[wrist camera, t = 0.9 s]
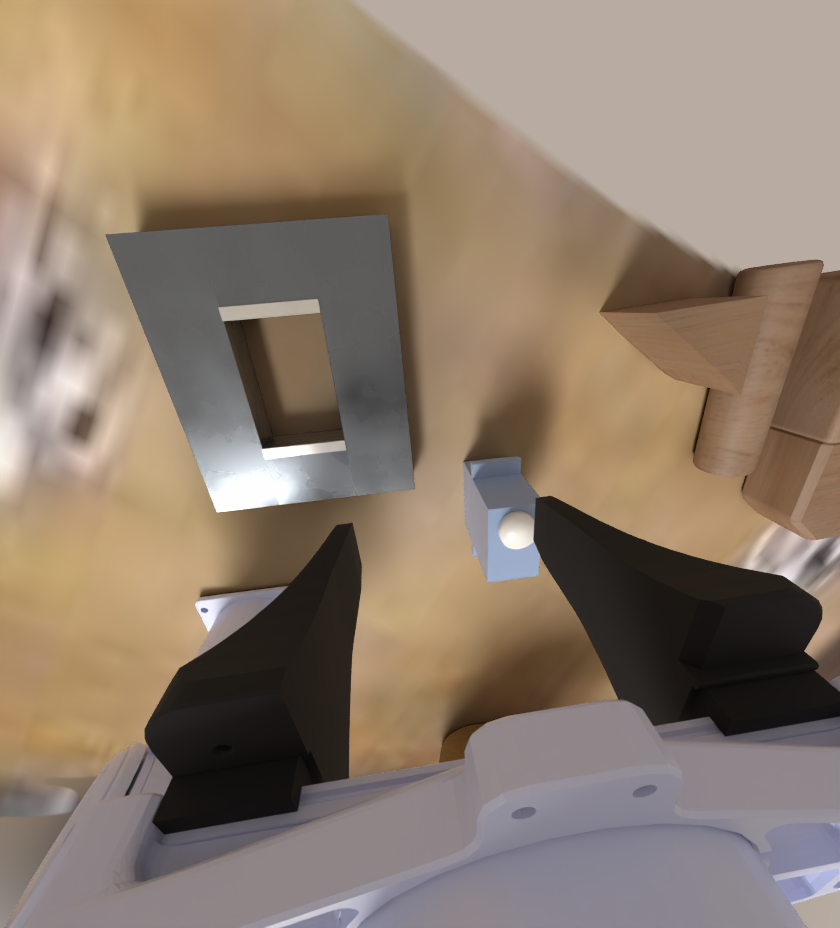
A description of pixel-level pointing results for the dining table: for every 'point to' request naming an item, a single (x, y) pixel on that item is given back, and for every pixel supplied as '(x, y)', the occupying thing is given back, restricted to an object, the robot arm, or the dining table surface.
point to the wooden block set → (760, 385)
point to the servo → (501, 518)
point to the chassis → (229, 363)
